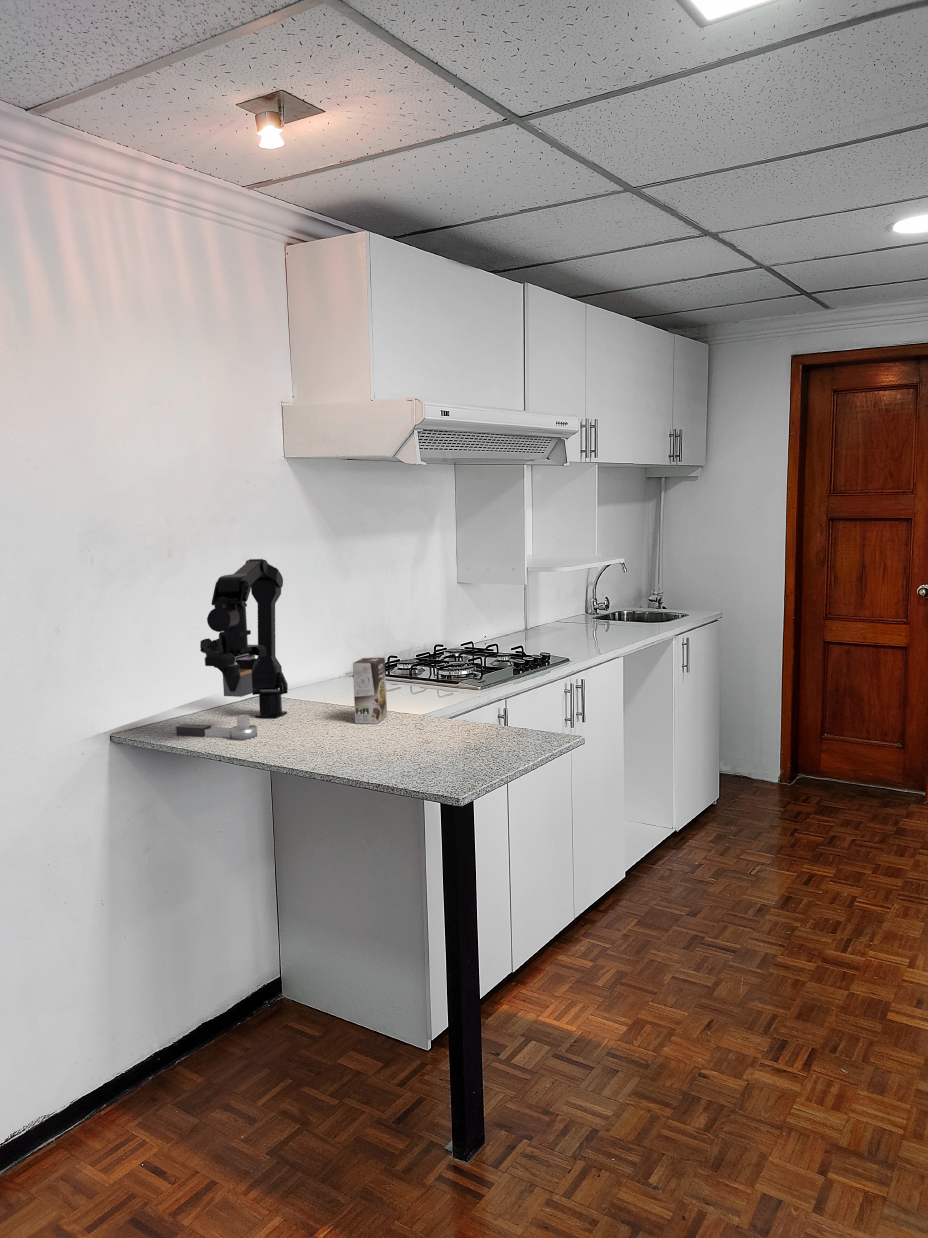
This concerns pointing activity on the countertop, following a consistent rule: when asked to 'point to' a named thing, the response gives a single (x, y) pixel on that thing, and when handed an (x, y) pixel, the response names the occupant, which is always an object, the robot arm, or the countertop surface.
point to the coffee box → (370, 690)
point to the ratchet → (220, 730)
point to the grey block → (240, 684)
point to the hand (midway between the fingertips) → (238, 689)
